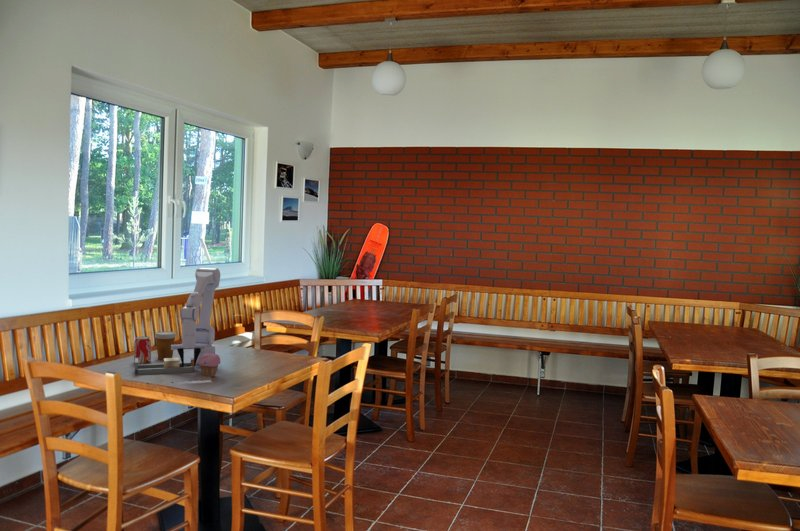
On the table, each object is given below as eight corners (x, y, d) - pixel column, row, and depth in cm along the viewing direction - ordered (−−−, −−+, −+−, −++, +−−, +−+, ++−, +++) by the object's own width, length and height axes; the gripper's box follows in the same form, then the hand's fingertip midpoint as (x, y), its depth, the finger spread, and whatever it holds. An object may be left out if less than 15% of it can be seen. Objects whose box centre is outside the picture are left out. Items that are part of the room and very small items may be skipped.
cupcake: (202, 373, 281) (202, 350, 281) (222, 374, 281) (223, 351, 280) (195, 378, 272) (195, 354, 272) (216, 379, 272) (216, 355, 272)
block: (193, 367, 288) (193, 357, 287) (194, 370, 282) (194, 359, 282) (163, 368, 283) (163, 358, 283) (164, 371, 278) (164, 361, 277)
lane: (191, 369, 289) (191, 355, 289) (193, 374, 280) (193, 360, 280) (135, 371, 281) (135, 357, 280) (134, 376, 272) (135, 362, 271)
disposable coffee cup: (180, 358, 311) (180, 332, 311) (163, 361, 303) (163, 335, 303) (167, 355, 316) (167, 330, 316) (150, 358, 308) (150, 332, 308)
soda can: (145, 366, 292) (145, 339, 291) (130, 365, 293) (130, 338, 292) (154, 363, 299) (154, 336, 298) (139, 361, 300) (140, 335, 299)
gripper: (171, 336, 277) (171, 368, 278) (207, 335, 282) (206, 367, 283) (171, 333, 283) (170, 365, 284) (206, 332, 289) (205, 363, 289)
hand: (188, 365), depth 284 cm, fingers closed on block, 4 cm apart
